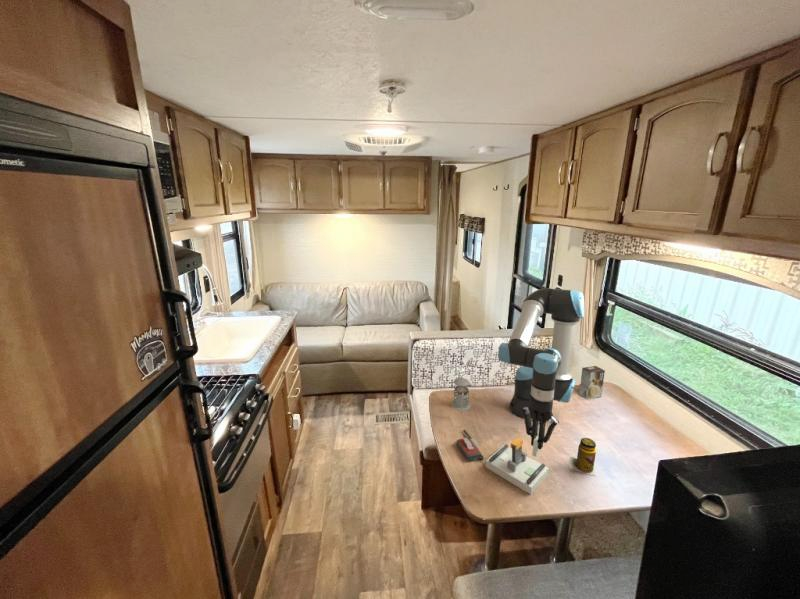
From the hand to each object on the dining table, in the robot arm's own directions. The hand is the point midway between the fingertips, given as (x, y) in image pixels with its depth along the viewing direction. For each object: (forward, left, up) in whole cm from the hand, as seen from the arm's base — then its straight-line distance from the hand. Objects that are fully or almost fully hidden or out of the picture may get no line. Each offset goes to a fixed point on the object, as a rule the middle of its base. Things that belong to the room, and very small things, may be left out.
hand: (535, 454), depth 125 cm
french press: (-23, -51, -12) cm, 57 cm away
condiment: (-21, +10, -12) cm, 26 cm away
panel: (0, -7, -12) cm, 14 cm away
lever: (0, -7, -7) cm, 10 cm away
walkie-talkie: (+2, -29, -12) cm, 32 cm away
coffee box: (-81, -7, -12) cm, 82 cm away
